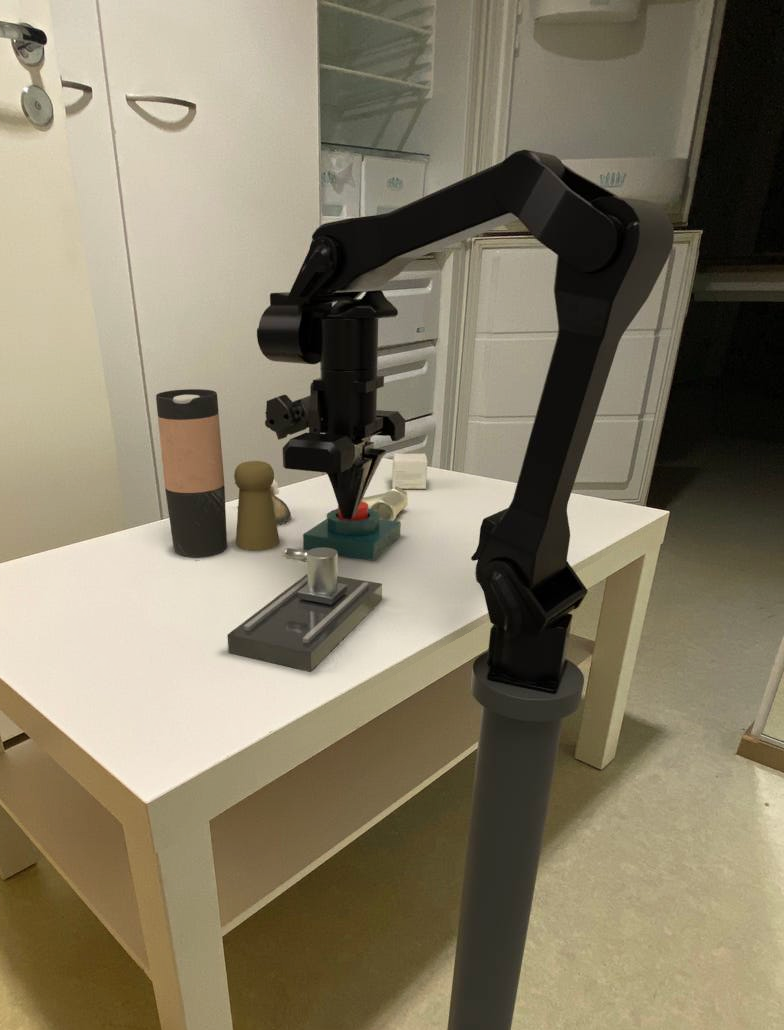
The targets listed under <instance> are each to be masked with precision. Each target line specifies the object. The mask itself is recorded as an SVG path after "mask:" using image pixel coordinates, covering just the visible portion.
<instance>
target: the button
mask: <svg viewBox="0 0 784 1030" xmlns="http://www.w3.org/2000/svg"><path fill="white" fill-rule="evenodd" d="M337 509H338V518H340V519H343V520H349V519H344V518H342V515H341V512H340V509H339V506H338V505H337ZM367 518H368V504H367V503H365V502H361V503H360V505H359V508H358V510H357V512H356V514H355V516H354V518H352V519H350V520H362V519H367Z"/></svg>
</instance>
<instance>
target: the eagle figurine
mask: <svg viewBox="0 0 784 1030" xmlns="http://www.w3.org/2000/svg"><path fill="white" fill-rule="evenodd" d="M234 484H235V485H236V487H237V489H239V487H238V486H237V484H236V482H235V481H234ZM278 485H279V484H278V482H277V480H276V479H274V480H273V483H272V485H271V487H270V489H271V495H272V500H273V506H274V512H275V518H276V524H277V526H278V525H283V524H285V523H286V522H289V520H291V516H292V514H291V510H290V508H289V506H288V505H287V504H286V503H285V501H284V500H282V499H281V498H279V497H278V496H276V495H279V494H280V489H279V486H278Z"/></svg>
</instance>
